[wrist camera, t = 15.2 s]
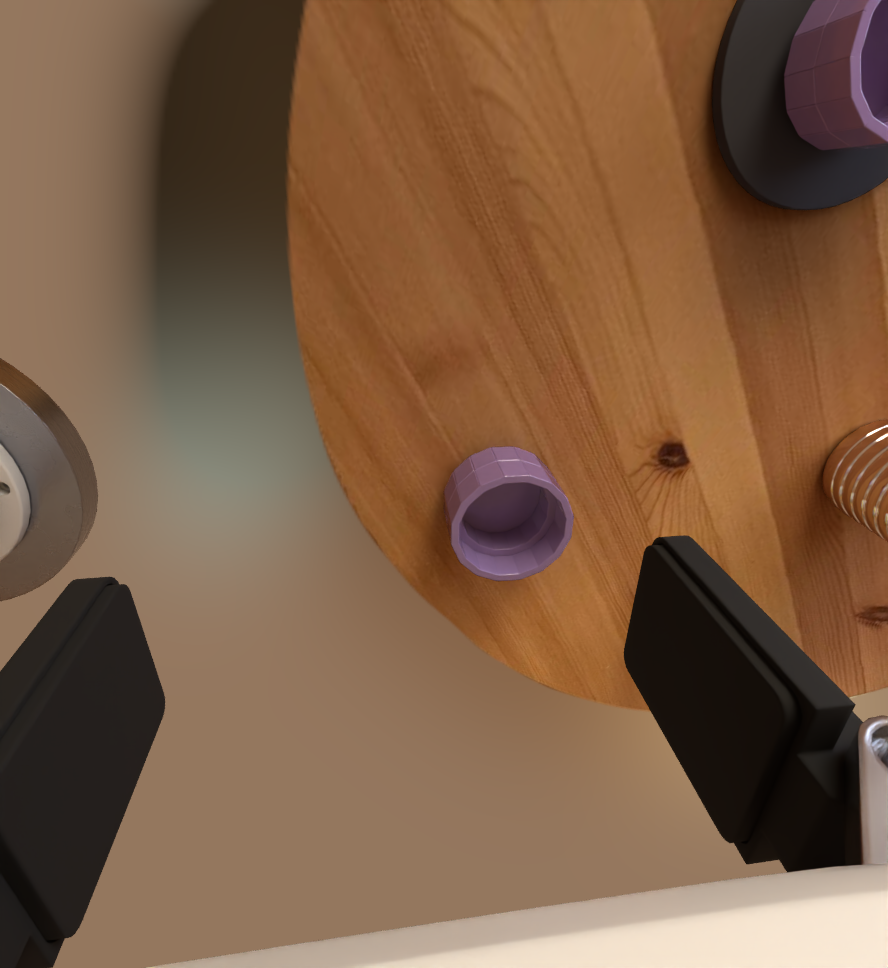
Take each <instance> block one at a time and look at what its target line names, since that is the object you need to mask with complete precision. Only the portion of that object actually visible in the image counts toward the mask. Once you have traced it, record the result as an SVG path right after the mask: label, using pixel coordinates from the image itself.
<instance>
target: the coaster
mask: <svg viewBox="0 0 888 968" xmlns="http://www.w3.org/2000/svg"><path fill="white" fill-rule="evenodd" d="M813 1H815V0H737V2H736V4H735V7H734V9H733V11H732V13H731V16H730V18H729V20H728V23H727V26H726V29H725V32H724V35H723V37H722V40H721V44H720V48H719V52H718V57H717V61H716V66H715V73H714V80H713V97H712V108H713V122H714V128H715V133H716V138H717V142H718V145H719V148H720V151H721V154H722V157H723V159H724V161H725V163H726V165H727V167H728V169H729V171H730V172H731V173H732V175H733V176H734V178H735V179H736V181H737V182H738V183H739V184H740V185H741V186H742V187H743V188H744V189H745V190H746V191H747V192H748V193H750V194H751V195H752V196H754V197H755V198H757V199H758V200H760V201H762V202H764V203H766V204H768V205H771V206H774V207H778V208H782V209H790V210H818V209H824V208H829V207H834V206H837V205H840V204H843V203H845V202H848V201H851V200H853V199H855V198H857V197H859V196H861V195H863V194H865V193H867V192H868V191H870V190H871V189H873V188H874V187H876V186H878V185H879V184H881V183H882V182H883V181H885V180H886V179H887V178H888V147H877V148H868V149H859V150H850V151H826V150H820V149H818V148H816V147H815V146H813V145H812V144H810V143H809V142H807V141H805V140H804V139H802V138H801V137H800V136H799V135H798V133H797V131H796V129H795V127H794V125H793V124H792V122H791V120H790V118H789V116H788V114H787V110H786V100H785V86H784V73H785V69H786V64H787V60H788V56H789V52H790V48H791V44H792V40H793V37H794V35H795V33H796V32H797V30H798V28H799V26H800V24H801V23H802V21H803V19H804V17H805V15H806V13H807V12H808V10H809V8H810V6H811V4H812V3H813Z"/></svg>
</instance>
